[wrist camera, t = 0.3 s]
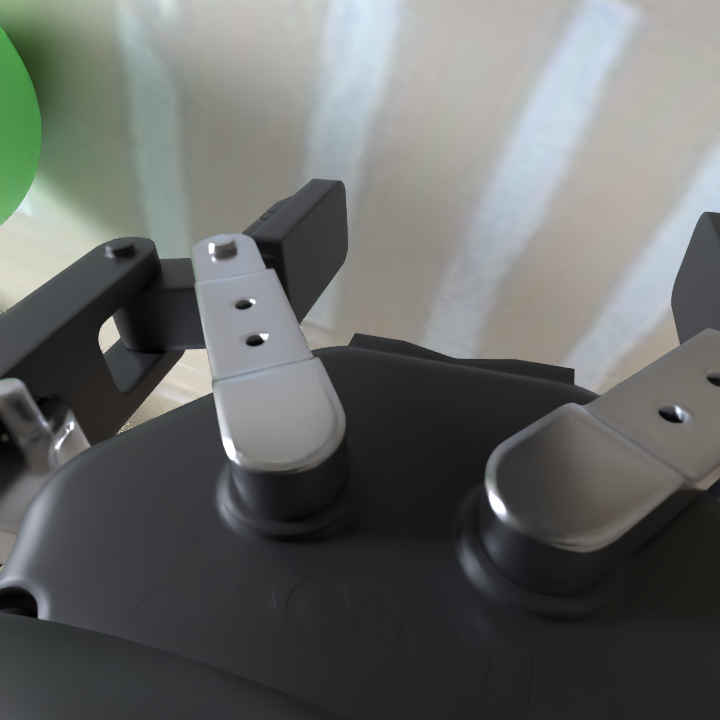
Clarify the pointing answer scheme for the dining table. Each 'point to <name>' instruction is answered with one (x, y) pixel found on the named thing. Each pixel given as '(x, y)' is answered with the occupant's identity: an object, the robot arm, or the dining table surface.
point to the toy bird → (16, 129)
